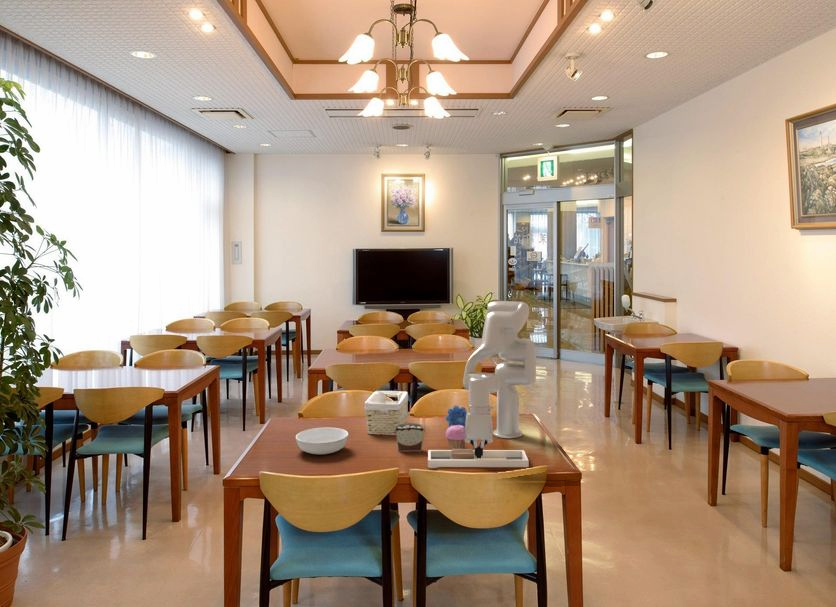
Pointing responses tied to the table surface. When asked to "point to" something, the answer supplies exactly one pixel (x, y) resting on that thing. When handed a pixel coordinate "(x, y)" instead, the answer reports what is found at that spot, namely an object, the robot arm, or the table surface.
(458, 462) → the white tray
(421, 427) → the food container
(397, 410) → the storage basket
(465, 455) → the walnut block
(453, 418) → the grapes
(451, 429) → the cupcake
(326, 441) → the serving bowl
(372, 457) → the table surface
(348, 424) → the table surface
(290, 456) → the table surface
